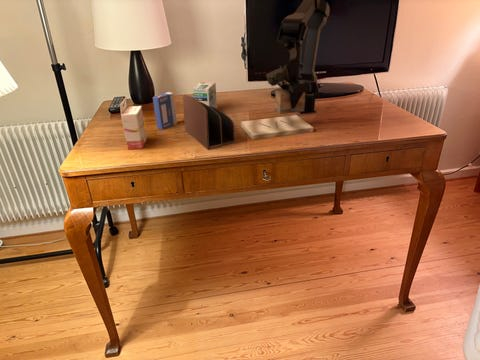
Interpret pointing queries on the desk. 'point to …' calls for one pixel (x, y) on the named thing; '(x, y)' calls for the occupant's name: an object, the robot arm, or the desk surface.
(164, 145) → the desk surface
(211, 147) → the letter holder
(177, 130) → the desk surface
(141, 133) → the ink cartridge box
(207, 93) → the light bulb box
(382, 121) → the desk surface
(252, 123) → the birch board
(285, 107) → the block
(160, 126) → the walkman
